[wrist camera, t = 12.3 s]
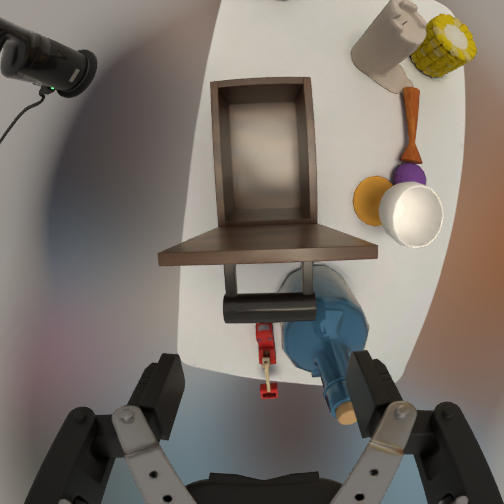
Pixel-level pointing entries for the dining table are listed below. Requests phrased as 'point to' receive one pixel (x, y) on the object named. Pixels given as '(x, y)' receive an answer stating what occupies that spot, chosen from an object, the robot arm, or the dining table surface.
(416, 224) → the cup
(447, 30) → the food
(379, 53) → the candle
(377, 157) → the dining table surface
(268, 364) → the toy fire truck
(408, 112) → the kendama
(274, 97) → the chest
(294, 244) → the lid
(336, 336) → the wine bottle
